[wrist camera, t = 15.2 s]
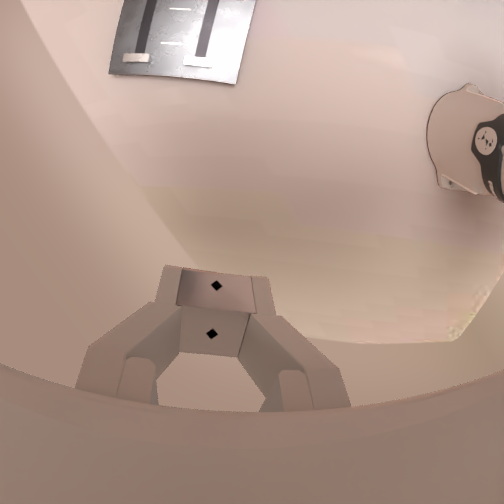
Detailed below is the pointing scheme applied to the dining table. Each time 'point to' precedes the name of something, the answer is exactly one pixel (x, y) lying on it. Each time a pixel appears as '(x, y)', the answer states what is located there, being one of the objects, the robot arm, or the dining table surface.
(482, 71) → the dining table surface
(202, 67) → the console
